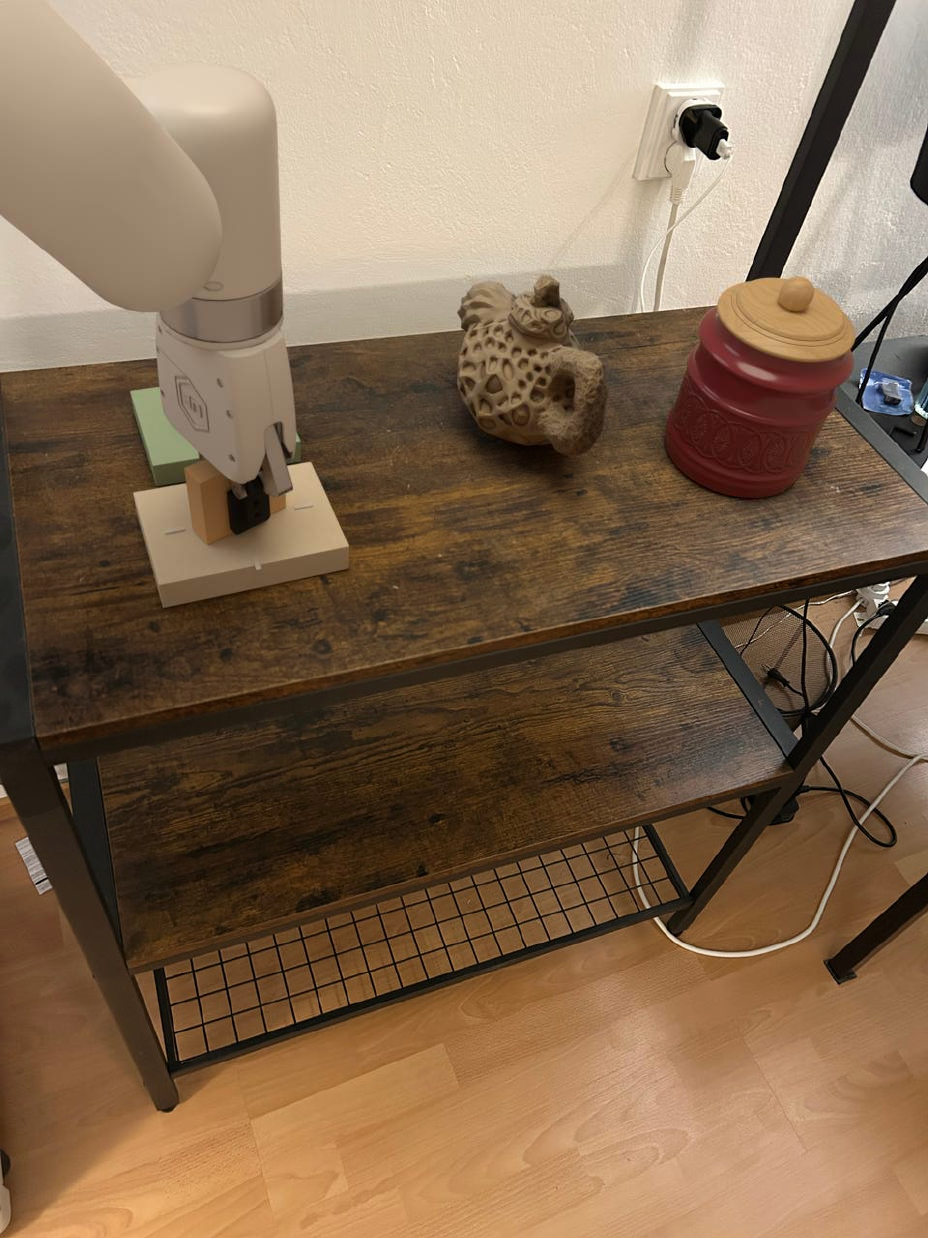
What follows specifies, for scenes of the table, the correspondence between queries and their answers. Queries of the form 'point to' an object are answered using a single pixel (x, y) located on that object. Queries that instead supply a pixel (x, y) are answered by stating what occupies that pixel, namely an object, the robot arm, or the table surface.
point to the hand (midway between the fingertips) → (239, 513)
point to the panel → (240, 543)
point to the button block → (167, 439)
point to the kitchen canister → (759, 386)
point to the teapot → (529, 368)
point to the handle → (213, 501)
